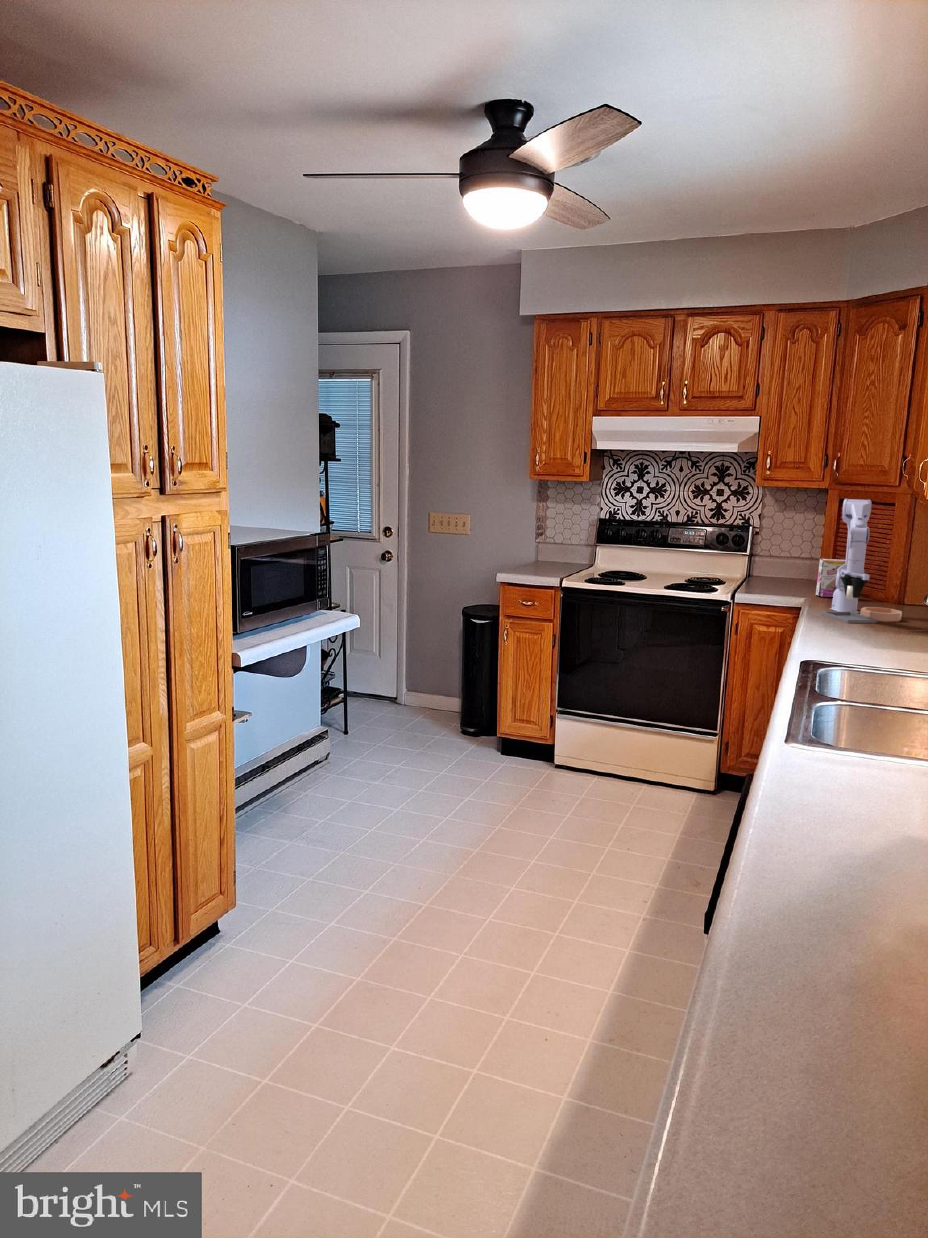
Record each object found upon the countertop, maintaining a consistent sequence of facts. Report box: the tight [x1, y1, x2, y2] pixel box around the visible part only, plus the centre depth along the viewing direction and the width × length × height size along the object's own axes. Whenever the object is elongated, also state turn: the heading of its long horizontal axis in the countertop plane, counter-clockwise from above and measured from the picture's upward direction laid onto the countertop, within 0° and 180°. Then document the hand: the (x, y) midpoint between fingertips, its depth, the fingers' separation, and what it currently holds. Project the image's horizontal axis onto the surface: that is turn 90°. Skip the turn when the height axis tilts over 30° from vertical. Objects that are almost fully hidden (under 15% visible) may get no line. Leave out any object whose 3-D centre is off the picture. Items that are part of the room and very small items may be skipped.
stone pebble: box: [846, 585, 859, 601], centre depth 327 cm, size 4×4×5 cm
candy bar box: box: [815, 558, 846, 598], centre depth 382 cm, size 11×5×16 cm, turn 84°
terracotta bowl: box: [859, 606, 903, 622], centre depth 332 cm, size 13×13×4 cm
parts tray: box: [821, 611, 878, 624], centre depth 329 cm, size 16×12×2 cm
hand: (852, 596), depth 327 cm, fingers closed on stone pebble, 4 cm apart
